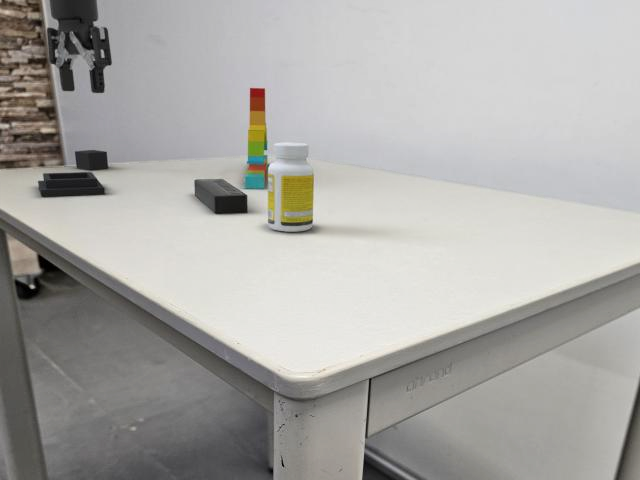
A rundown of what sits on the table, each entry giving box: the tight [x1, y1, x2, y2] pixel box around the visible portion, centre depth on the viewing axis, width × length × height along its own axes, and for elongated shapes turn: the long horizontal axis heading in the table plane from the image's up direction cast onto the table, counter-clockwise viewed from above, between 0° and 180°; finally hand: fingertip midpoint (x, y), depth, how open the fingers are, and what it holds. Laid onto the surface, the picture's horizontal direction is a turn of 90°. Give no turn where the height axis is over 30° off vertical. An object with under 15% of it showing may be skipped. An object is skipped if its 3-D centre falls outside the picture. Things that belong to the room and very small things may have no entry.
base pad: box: [37, 171, 106, 198], centre depth 94 cm, size 9×9×2 cm
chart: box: [243, 87, 268, 190], centre depth 113 cm, size 30×3×15 cm, turn 4°
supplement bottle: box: [267, 141, 315, 233], centre depth 75 cm, size 5×5×10 cm
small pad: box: [74, 149, 109, 171], centre depth 117 cm, size 4×4×3 cm
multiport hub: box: [193, 178, 249, 215], centre depth 89 cm, size 4×14×2 cm, turn 22°
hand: (83, 92), depth 112 cm, fingers open, 8 cm apart
